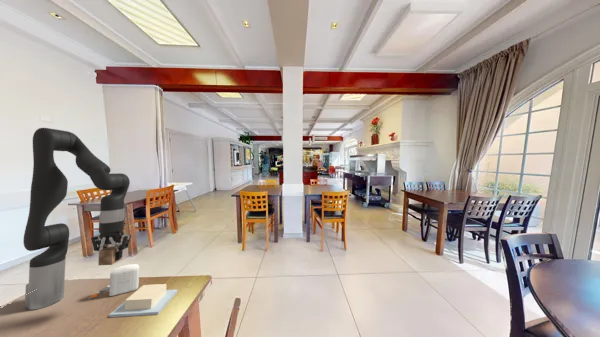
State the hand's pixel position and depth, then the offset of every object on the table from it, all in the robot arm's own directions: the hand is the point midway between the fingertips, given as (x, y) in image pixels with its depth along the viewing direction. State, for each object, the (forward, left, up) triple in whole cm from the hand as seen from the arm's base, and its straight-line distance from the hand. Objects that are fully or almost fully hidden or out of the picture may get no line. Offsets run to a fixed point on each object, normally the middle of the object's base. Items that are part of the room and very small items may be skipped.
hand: (111, 259), depth 77 cm
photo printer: (-2, +10, -20) cm, 22 cm away
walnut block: (0, 0, -1) cm, 1 cm away
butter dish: (+14, +1, -20) cm, 24 cm away
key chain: (-12, +9, -21) cm, 26 cm away
